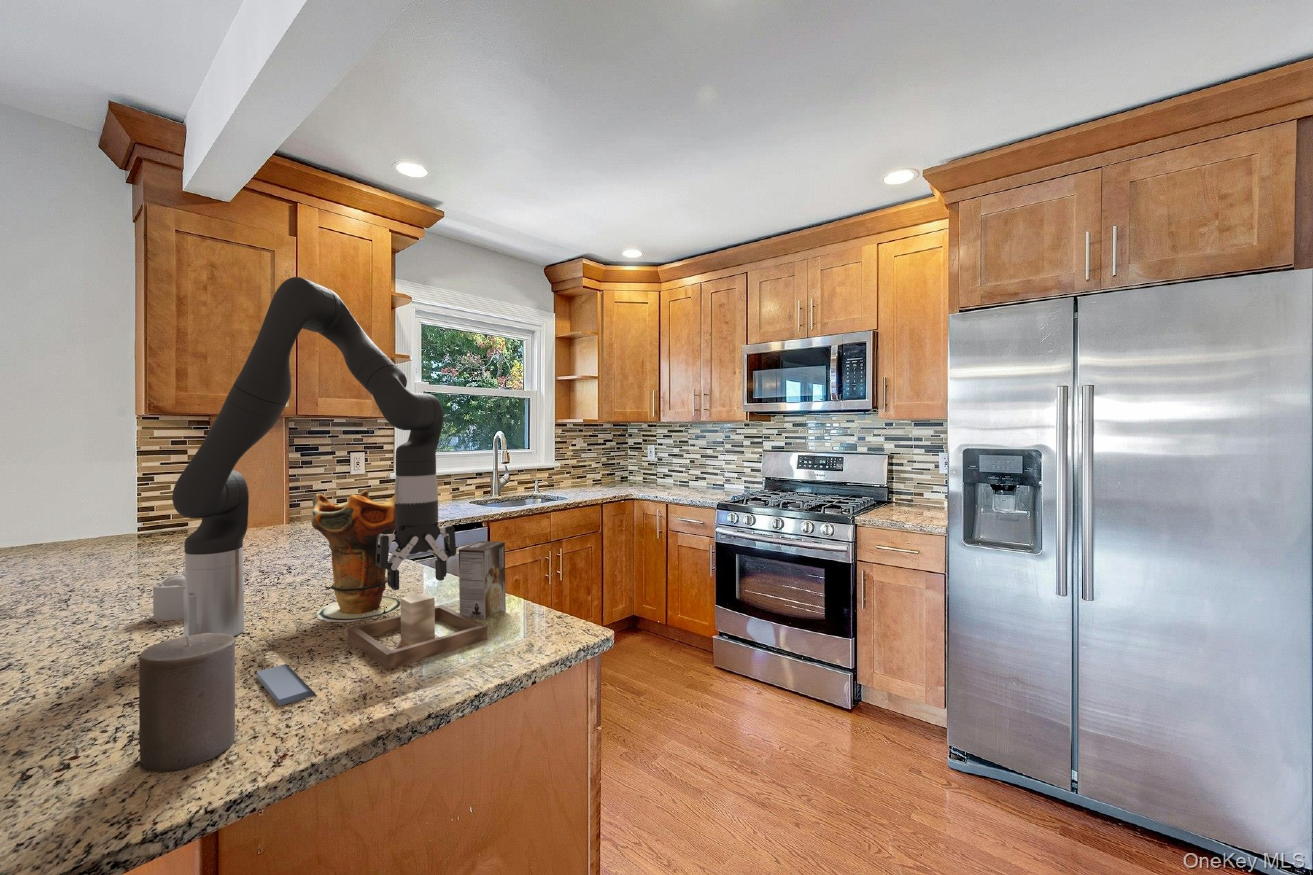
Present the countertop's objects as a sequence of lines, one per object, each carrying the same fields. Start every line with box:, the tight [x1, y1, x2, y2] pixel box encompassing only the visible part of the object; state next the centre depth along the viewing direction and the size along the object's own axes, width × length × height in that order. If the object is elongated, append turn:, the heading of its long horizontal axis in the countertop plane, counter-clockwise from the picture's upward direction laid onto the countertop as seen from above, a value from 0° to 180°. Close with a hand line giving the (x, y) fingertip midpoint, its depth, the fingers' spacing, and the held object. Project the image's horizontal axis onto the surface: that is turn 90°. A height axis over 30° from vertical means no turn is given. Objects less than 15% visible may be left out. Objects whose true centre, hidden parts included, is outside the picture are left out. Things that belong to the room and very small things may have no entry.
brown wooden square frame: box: [347, 604, 488, 671], centre depth 107 cm, size 18×18×4 cm
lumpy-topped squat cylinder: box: [152, 571, 185, 621], centre depth 128 cm, size 10×13×9 cm
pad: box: [256, 663, 317, 707], centre depth 95 cm, size 14×14×1 cm
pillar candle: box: [138, 633, 236, 773], centre depth 73 cm, size 10×10×15 cm
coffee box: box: [458, 540, 507, 620], centre depth 123 cm, size 9×6×16 cm
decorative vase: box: [311, 489, 401, 623], centre depth 130 cm, size 21×23×28 cm
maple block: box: [399, 592, 436, 645], centre depth 107 cm, size 4×4×8 cm
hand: (417, 584), depth 107 cm, fingers open, 8 cm apart
